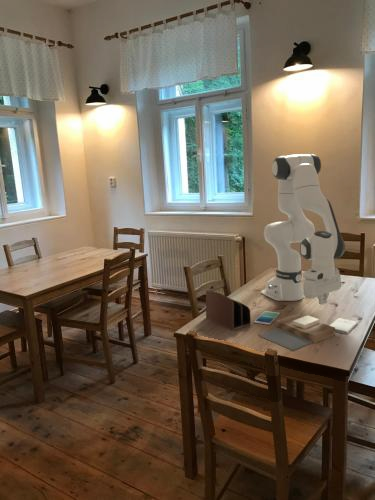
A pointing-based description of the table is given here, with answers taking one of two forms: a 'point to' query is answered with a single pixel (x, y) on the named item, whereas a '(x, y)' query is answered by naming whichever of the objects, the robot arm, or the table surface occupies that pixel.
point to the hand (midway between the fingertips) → (322, 303)
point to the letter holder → (226, 311)
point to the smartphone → (267, 318)
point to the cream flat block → (306, 321)
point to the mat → (285, 339)
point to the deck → (306, 329)
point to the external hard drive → (343, 325)
